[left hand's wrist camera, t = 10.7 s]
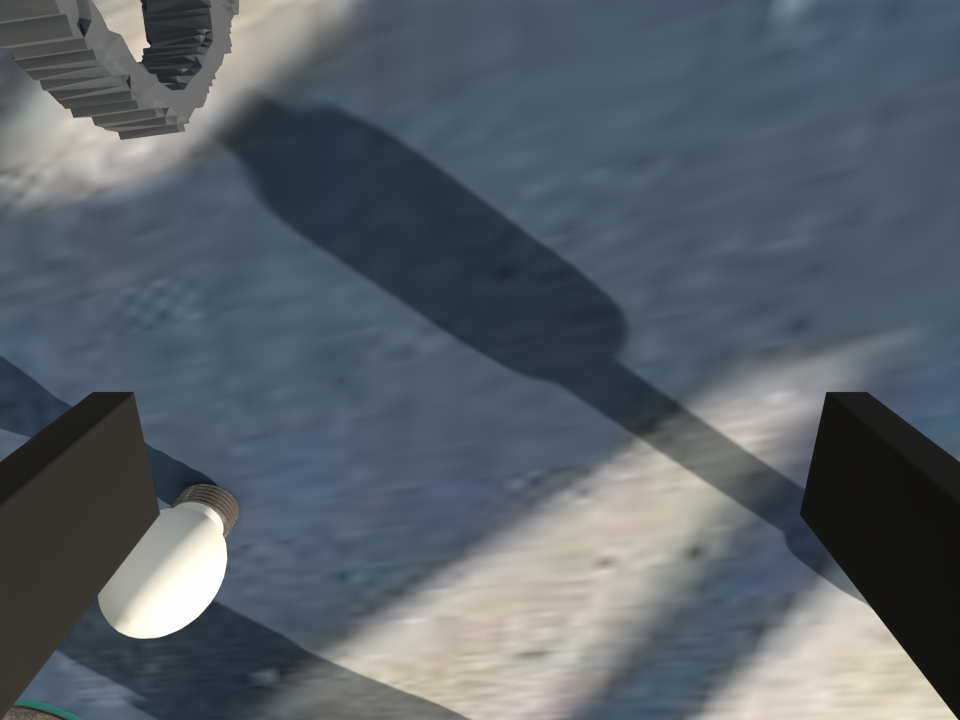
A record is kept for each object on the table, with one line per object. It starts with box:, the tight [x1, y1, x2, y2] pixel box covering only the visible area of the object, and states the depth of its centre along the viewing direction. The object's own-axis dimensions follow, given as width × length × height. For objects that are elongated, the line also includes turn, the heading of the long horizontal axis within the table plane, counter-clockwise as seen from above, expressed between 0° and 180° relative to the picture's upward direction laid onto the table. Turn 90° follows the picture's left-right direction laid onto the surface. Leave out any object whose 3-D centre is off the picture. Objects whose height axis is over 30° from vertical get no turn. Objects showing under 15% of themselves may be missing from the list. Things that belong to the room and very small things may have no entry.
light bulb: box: [98, 484, 239, 639], centre depth 41 cm, size 7×7×11 cm
